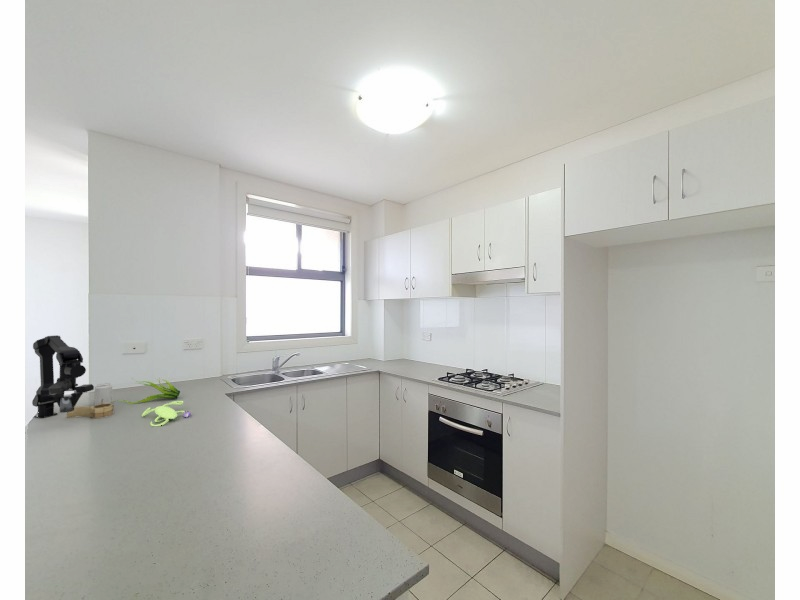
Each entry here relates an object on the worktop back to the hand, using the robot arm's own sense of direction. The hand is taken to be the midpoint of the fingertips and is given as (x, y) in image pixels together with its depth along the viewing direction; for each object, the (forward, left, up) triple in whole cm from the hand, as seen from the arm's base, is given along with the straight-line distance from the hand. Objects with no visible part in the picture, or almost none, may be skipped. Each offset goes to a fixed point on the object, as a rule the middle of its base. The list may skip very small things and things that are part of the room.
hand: (67, 406), depth 158 cm
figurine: (+36, +23, -9) cm, 43 cm away
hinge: (-2, +13, -8) cm, 15 cm away
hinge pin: (0, 0, -2) cm, 2 cm away
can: (-17, +25, -8) cm, 31 cm away
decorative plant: (+1, +37, -8) cm, 38 cm away
